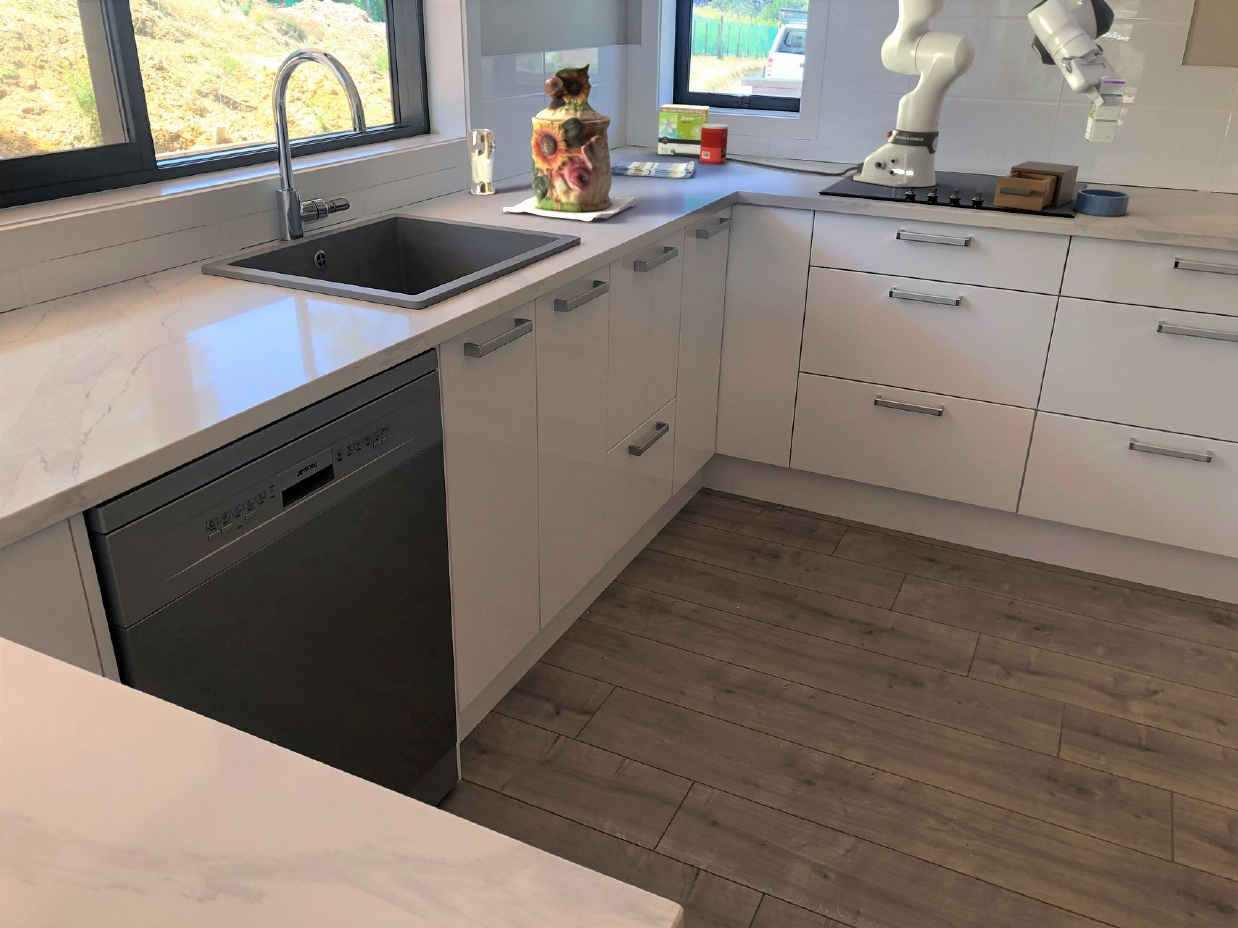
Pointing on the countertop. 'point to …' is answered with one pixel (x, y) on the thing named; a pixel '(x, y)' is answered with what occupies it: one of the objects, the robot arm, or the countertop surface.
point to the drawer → (1025, 190)
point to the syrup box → (1106, 110)
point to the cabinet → (1063, 172)
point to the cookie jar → (571, 154)
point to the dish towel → (654, 169)
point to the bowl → (1102, 202)
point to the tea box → (681, 128)
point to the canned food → (713, 143)
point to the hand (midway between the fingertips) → (1109, 103)
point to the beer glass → (482, 160)
